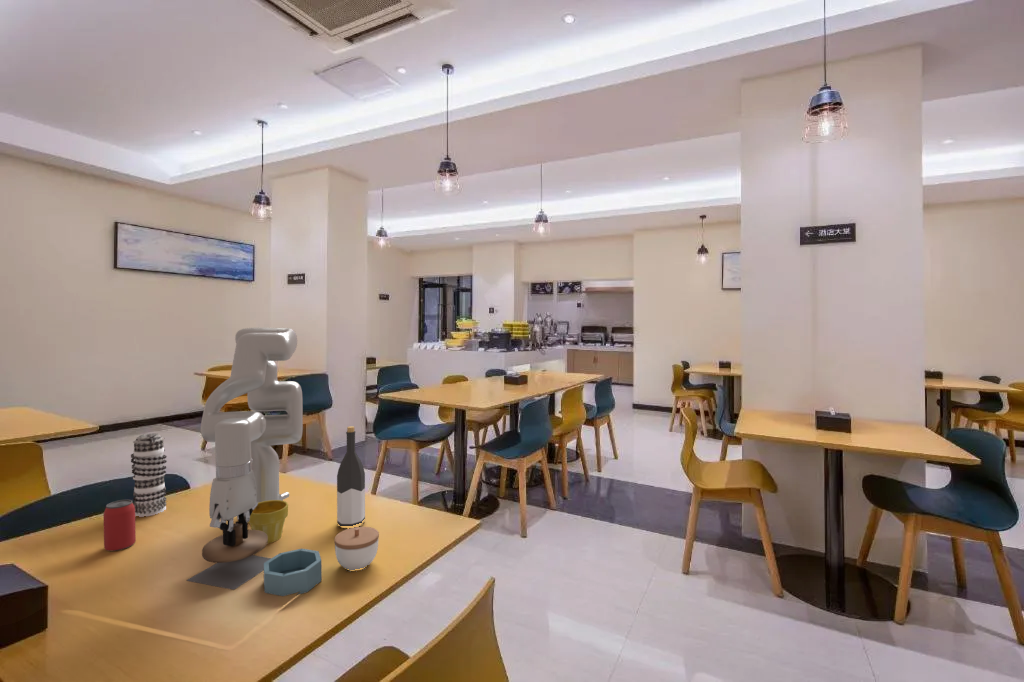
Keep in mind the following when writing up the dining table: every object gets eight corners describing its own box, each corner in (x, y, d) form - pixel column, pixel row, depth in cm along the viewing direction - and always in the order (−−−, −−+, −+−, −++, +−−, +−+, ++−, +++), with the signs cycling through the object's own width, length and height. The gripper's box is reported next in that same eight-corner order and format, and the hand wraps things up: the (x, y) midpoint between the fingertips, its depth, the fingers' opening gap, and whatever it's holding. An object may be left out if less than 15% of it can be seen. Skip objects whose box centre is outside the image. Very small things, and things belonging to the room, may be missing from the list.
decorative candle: (128, 512, 149) (127, 435, 149) (163, 503, 156) (162, 430, 156) (135, 519, 143) (133, 440, 143) (171, 511, 151) (169, 435, 150)
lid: (236, 530, 123) (236, 510, 123) (280, 537, 120) (279, 517, 119) (187, 557, 110) (186, 534, 109) (235, 566, 106) (234, 544, 106)
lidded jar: (387, 558, 121) (387, 523, 120) (361, 580, 111) (361, 541, 110) (353, 552, 124) (353, 517, 124) (325, 572, 114) (324, 534, 114)
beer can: (117, 553, 123) (116, 508, 122) (97, 550, 124) (96, 506, 124) (141, 542, 129) (141, 499, 129) (122, 539, 130) (121, 497, 130)
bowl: (290, 566, 117) (289, 546, 117) (331, 573, 114) (330, 553, 114) (251, 592, 105) (251, 570, 105) (296, 601, 102) (296, 578, 102)
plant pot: (296, 536, 133) (296, 503, 133) (264, 552, 124) (263, 516, 123) (271, 529, 138) (271, 497, 137) (238, 544, 128) (238, 509, 128)
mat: (235, 554, 122) (235, 552, 122) (279, 561, 119) (279, 559, 119) (186, 582, 109) (186, 580, 109) (234, 592, 105) (234, 589, 105)
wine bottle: (364, 516, 147) (364, 423, 146) (365, 527, 140) (365, 428, 139) (337, 520, 144) (336, 425, 143) (337, 531, 137) (336, 430, 136)
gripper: (248, 457, 122) (249, 524, 124) (190, 479, 106) (193, 555, 108) (272, 460, 120) (273, 528, 122) (216, 483, 104) (219, 561, 106)
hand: (235, 540), depth 115 cm, fingers closed on lid, 3 cm apart
